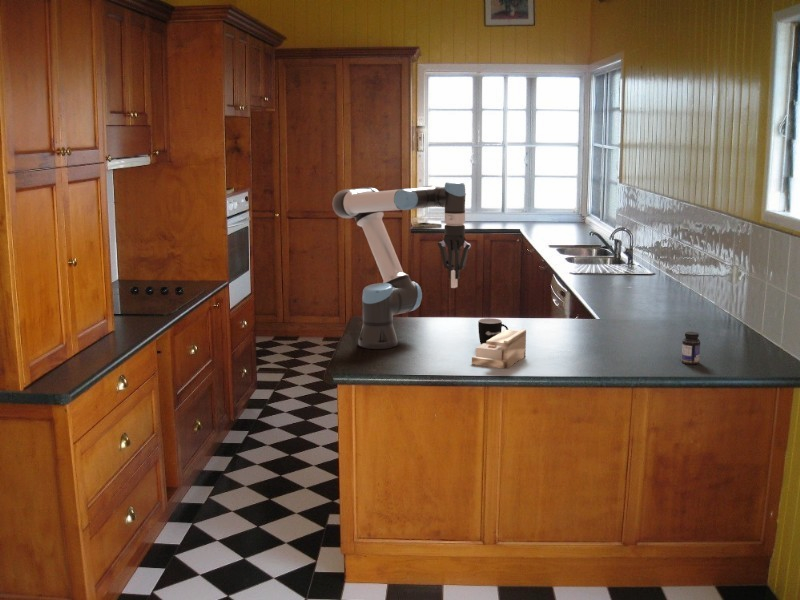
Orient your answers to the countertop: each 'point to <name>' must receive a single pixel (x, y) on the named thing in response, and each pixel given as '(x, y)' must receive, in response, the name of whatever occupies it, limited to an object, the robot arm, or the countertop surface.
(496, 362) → the shelf
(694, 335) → the pill bottle
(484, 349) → the cream white block
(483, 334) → the mug
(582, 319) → the countertop surface
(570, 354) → the countertop surface
